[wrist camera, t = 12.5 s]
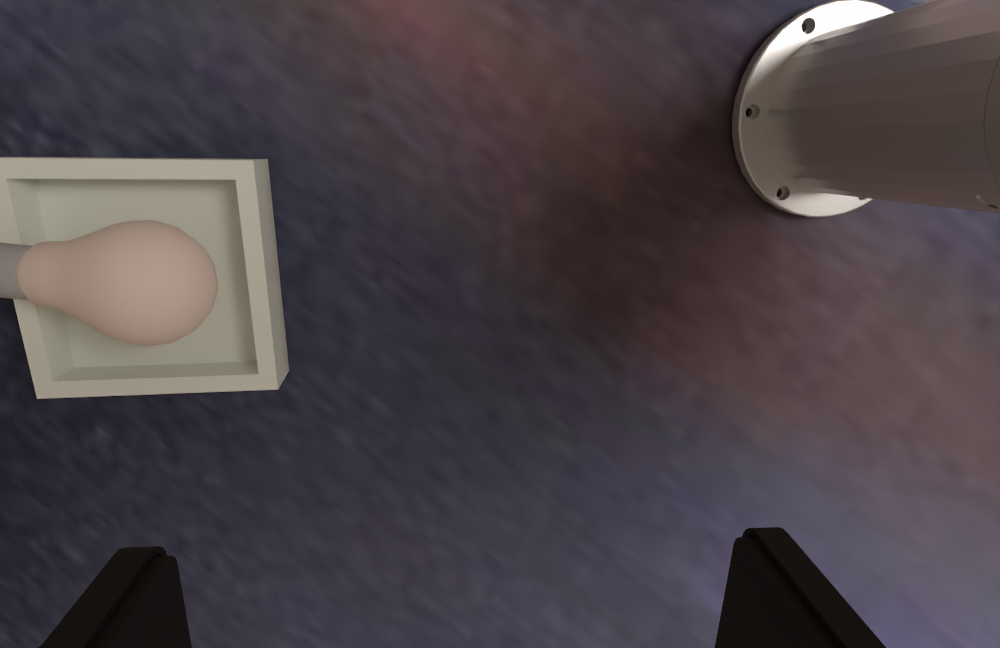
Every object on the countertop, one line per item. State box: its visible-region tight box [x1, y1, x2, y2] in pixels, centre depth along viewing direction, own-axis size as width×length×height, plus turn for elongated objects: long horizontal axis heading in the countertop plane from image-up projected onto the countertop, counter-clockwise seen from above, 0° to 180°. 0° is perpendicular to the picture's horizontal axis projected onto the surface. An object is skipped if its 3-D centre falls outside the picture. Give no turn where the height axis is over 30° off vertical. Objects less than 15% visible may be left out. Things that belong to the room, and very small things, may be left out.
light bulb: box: [0, 220, 218, 346], centre depth 30 cm, size 7×7×11 cm
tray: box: [0, 157, 289, 399], centre depth 33 cm, size 13×13×3 cm
